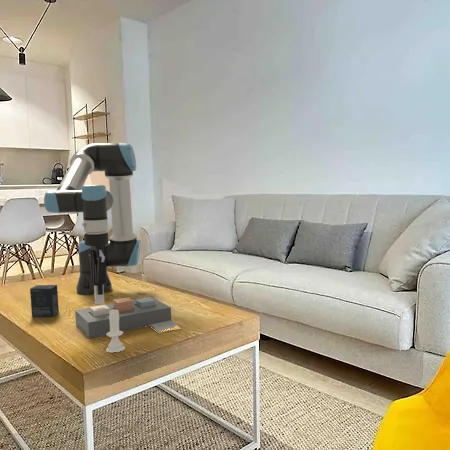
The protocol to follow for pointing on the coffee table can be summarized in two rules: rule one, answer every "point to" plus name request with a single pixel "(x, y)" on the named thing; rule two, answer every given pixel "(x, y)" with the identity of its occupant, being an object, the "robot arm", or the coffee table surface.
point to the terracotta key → (123, 304)
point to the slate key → (145, 302)
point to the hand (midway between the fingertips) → (99, 303)
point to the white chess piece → (114, 332)
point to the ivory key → (99, 310)
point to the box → (44, 300)
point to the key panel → (122, 318)
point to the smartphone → (163, 325)
